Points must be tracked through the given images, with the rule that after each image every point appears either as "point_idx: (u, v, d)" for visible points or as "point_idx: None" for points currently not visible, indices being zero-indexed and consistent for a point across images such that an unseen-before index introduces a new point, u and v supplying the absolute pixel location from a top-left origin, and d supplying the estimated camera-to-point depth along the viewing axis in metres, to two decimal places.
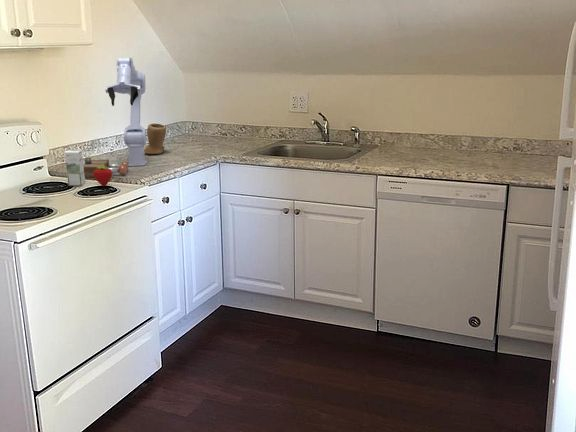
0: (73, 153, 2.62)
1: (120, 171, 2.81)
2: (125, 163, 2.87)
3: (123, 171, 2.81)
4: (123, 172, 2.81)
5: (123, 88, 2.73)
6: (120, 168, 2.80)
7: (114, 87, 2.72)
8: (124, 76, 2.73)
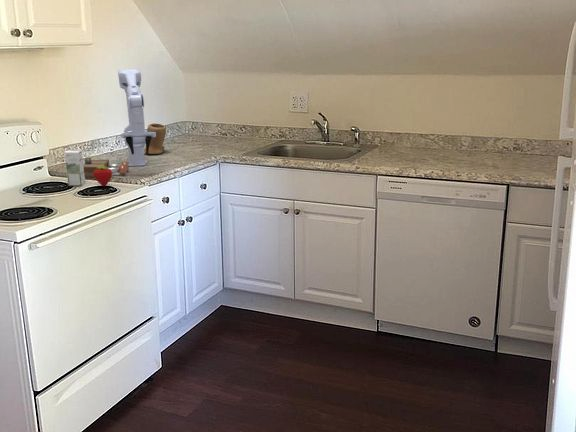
0: (73, 153, 2.62)
1: (120, 171, 2.81)
2: (125, 163, 2.87)
3: (123, 171, 2.81)
4: (123, 172, 2.81)
5: None
6: (120, 168, 2.80)
7: None
8: (138, 125, 2.75)
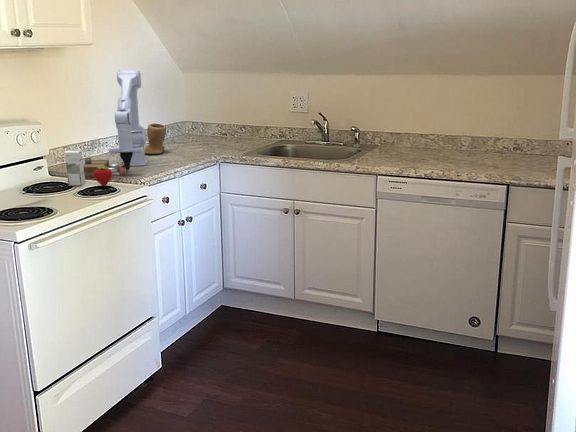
0: (73, 153, 2.62)
1: (120, 171, 2.81)
2: None
3: (123, 171, 2.81)
4: (123, 172, 2.81)
5: None
6: (120, 168, 2.80)
7: None
8: (125, 141, 2.76)
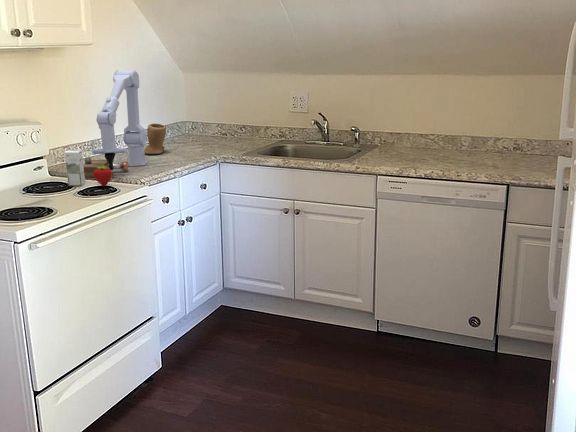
0: (73, 153, 2.62)
1: None
2: (125, 163, 2.87)
3: None
4: None
5: None
6: None
7: None
8: (109, 142, 2.76)
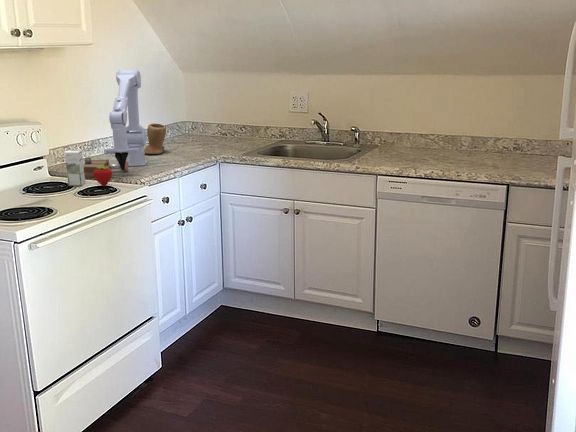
0: (73, 153, 2.62)
1: None
2: (125, 163, 2.87)
3: None
4: None
5: None
6: None
7: None
8: (120, 141, 2.76)
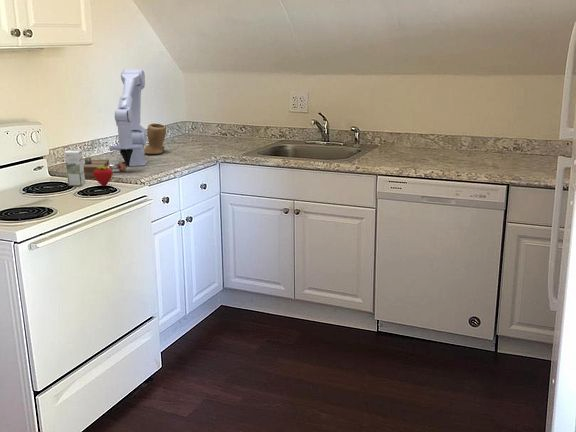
0: (73, 153, 2.62)
1: None
2: (122, 163, 2.87)
3: None
4: None
5: None
6: None
7: None
8: (125, 138, 2.83)
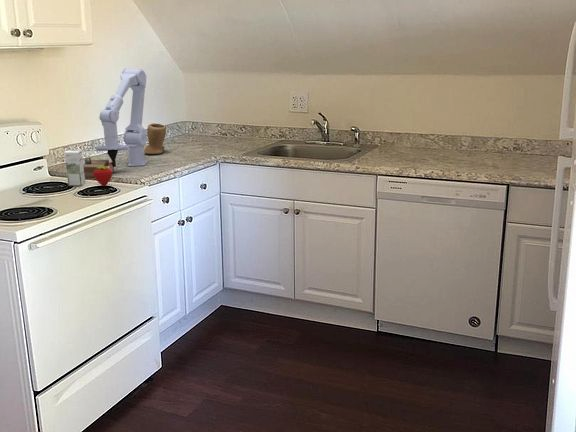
0: (73, 153, 2.62)
1: None
2: (110, 163, 2.87)
3: None
4: None
5: None
6: None
7: None
8: (111, 139, 2.82)
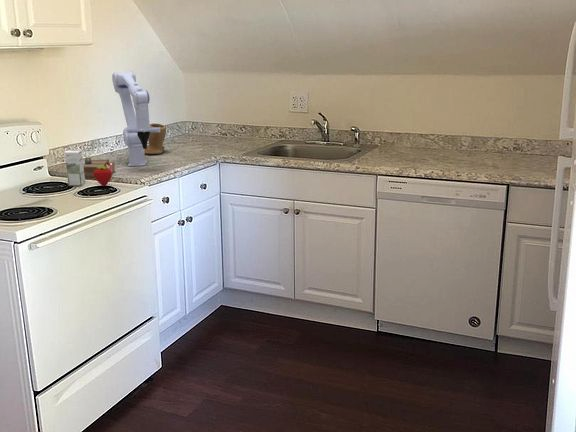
0: (73, 153, 2.62)
1: None
2: (111, 163, 2.87)
3: None
4: None
5: None
6: None
7: (135, 130, 2.86)
8: (143, 121, 2.83)
